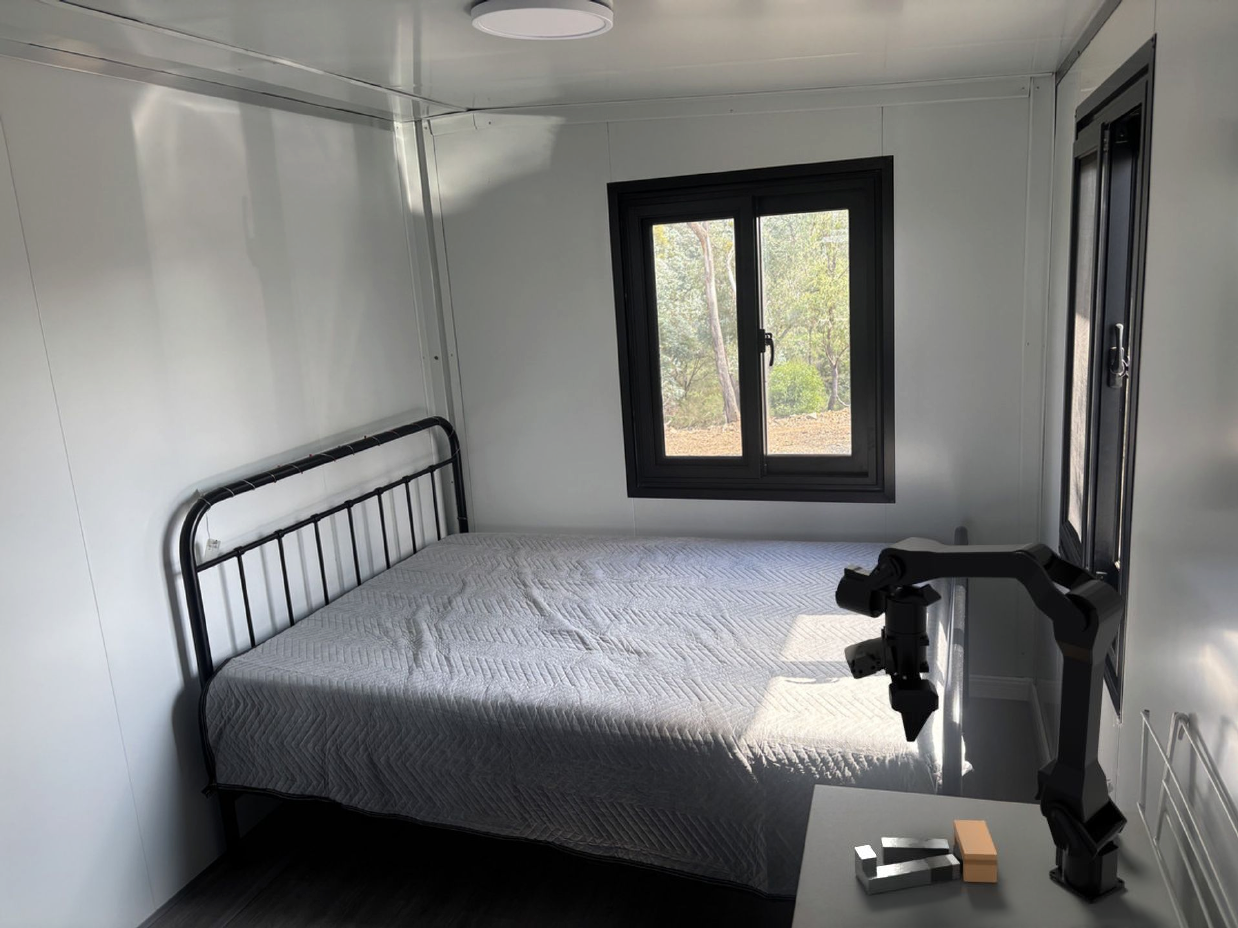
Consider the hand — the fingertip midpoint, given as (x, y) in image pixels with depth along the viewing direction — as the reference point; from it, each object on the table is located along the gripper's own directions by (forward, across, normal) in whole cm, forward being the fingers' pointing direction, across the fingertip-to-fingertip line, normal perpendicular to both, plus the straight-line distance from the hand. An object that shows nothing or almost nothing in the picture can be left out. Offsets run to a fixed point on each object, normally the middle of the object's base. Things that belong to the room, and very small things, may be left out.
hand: (905, 724), depth 140 cm
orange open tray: (+12, +15, +7) cm, 20 cm away
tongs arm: (+12, +18, -2) cm, 22 cm away
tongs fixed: (+12, +15, +1) cm, 19 cm away
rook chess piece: (+12, +7, +25) cm, 28 cm away
